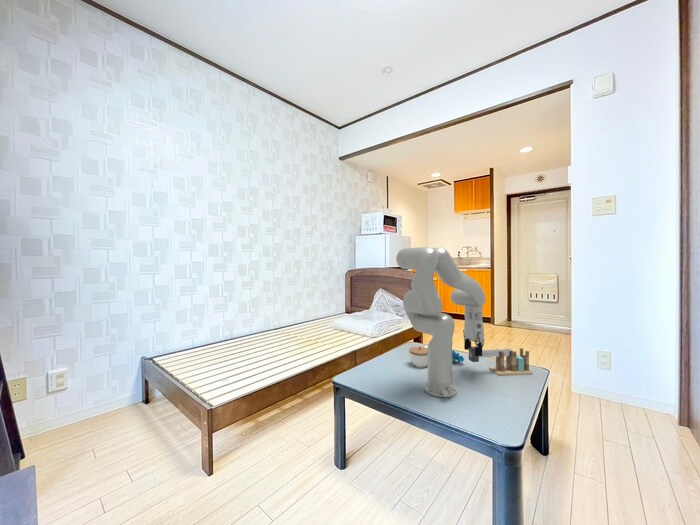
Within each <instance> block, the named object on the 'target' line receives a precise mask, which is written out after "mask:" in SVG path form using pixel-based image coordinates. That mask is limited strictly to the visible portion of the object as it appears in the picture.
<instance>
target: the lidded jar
mask: <svg viewBox="0 0 700 525" xmlns="http://www.w3.org/2000/svg"><path fill="white" fill-rule="evenodd" d="M427 348H428V347H424V346H423V347H422V346H420V345H419V346H414V347H413V346H412V347H410V348H409V349H408V352H409V353H408V354H409V359H410V362H411V363H412V364H413V366H414V365H415V366H414V367H417V368H426V367H427V366H428V349H427Z"/></svg>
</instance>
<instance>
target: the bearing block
mask: <svg viewBox="0 0 700 525" xmlns="http://www.w3.org/2000/svg"><path fill="white" fill-rule="evenodd" d="M495 350H500V349H495ZM516 354H517V351H514V350H513V352H511V356H504V352H501V357H495V366H489V367H488V370H490V371H491V372H492V373H494V374H495V375H497V376H498V377H505V376H506V377H508V376H522V375H523V376H525V375H526V376H527V375H528V374H529V375H533V371H531V370H530V351H529V350H525V352H524V348H522V347H521V348H519V356H521V357H522V358H524V372H518V371H517V366H516Z"/></svg>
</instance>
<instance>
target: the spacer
mask: <svg viewBox="0 0 700 525" xmlns="http://www.w3.org/2000/svg"><path fill="white" fill-rule="evenodd" d="M516 366H517V371H518V372H524V358H522V357H521V356H520V354H517V353H516Z"/></svg>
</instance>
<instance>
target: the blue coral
mask: <svg viewBox="0 0 700 525" xmlns="http://www.w3.org/2000/svg"><path fill="white" fill-rule="evenodd" d="M454 361H457V362H460V363H463V362H464V361H465V358H464V356H463V355H460V353H459V352H456V351H455V350H453V349H452V363H453V362H454Z"/></svg>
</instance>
